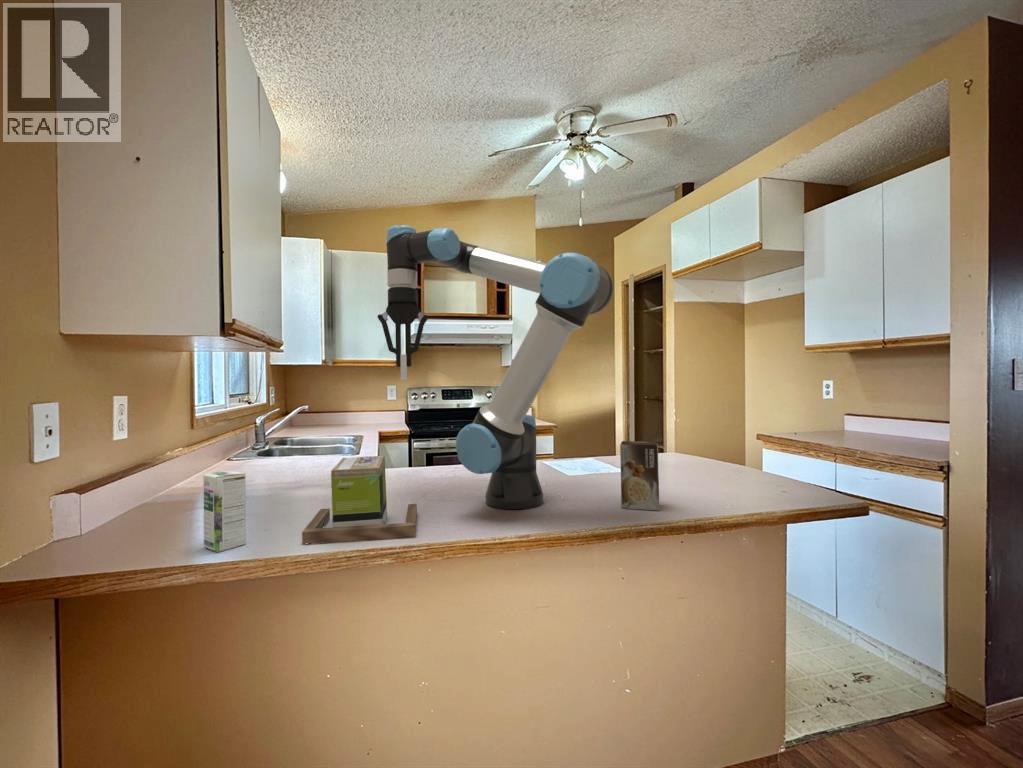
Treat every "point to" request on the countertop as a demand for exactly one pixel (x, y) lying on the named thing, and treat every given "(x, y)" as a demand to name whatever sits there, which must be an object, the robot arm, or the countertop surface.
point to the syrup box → (224, 510)
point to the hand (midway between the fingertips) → (404, 379)
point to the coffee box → (639, 475)
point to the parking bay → (358, 529)
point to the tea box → (359, 491)
